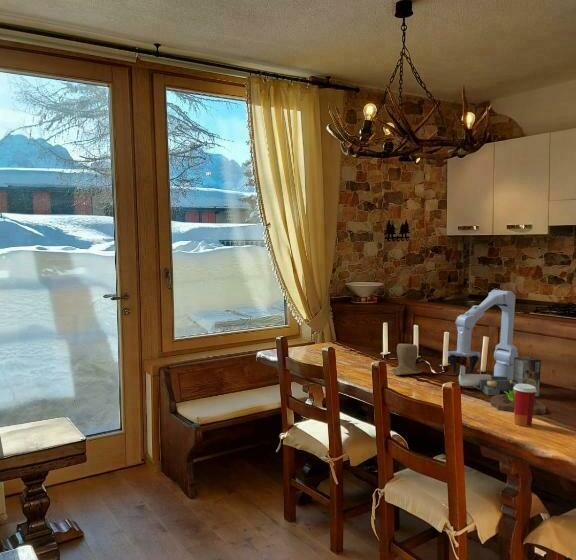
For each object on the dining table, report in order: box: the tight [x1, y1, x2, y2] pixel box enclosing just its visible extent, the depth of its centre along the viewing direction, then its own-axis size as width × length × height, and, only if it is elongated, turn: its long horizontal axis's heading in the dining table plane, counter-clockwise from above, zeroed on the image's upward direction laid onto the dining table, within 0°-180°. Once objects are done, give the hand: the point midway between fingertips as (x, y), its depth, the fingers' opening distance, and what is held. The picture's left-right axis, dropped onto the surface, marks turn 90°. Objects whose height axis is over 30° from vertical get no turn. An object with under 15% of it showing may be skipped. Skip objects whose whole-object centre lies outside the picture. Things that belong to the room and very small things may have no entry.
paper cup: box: [513, 384, 537, 428], centre depth 201 cm, size 8×8×14 cm
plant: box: [490, 380, 547, 416], centre depth 224 cm, size 20×20×11 cm
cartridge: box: [458, 365, 492, 387], centre depth 250 cm, size 5×13×9 cm, turn 92°
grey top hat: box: [391, 343, 423, 376], centre depth 275 cm, size 15×12×15 cm
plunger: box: [487, 381, 497, 388], centre depth 242 cm, size 4×4×5 cm
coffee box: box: [512, 356, 542, 397], centre depth 242 cm, size 9×6×16 cm
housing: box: [473, 375, 513, 397], centre depth 248 cm, size 15×16×5 cm
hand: (462, 372), depth 250 cm, fingers open, 7 cm apart
